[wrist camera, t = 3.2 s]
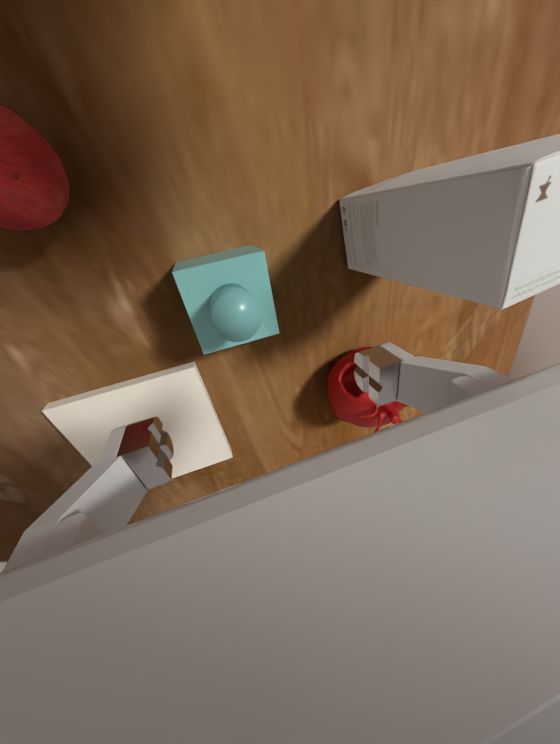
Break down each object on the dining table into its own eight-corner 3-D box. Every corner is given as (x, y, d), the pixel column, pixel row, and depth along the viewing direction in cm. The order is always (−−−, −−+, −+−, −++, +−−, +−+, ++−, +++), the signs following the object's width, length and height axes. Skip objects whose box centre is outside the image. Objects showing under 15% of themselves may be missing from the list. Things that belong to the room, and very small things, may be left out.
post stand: (194, 361, 26) (194, 386, 23) (231, 450, 34) (236, 480, 30) (47, 403, 24) (20, 438, 21) (122, 487, 32) (112, 525, 28)
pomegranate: (382, 394, 37) (432, 440, 29) (318, 412, 35) (353, 466, 28) (392, 330, 32) (456, 366, 24) (317, 347, 30) (360, 392, 22)
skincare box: (345, 269, 26) (493, 319, 13) (335, 192, 22) (527, 158, 9) (418, 241, 27) (625, 263, 14) (420, 162, 23) (706, 93, 10)
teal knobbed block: (251, 245, 23) (274, 255, 16) (266, 315, 26) (290, 347, 20) (175, 262, 22) (168, 281, 15) (202, 333, 25) (205, 372, 19)
